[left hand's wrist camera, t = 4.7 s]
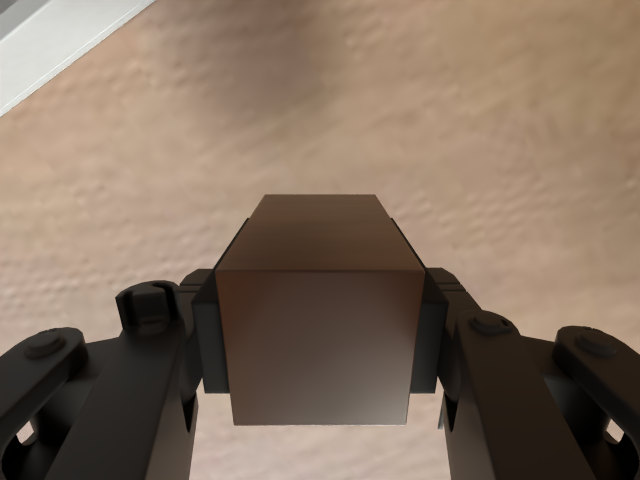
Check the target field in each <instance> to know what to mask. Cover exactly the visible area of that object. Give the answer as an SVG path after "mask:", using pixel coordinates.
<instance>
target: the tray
mask: <svg viewBox="0 0 640 480" xmlns="http://www.w3.org/2000/svg"><path fill="white" fill-rule="evenodd" d="M154 1H155V0H0V117H1V116H2V115H4V114H5V113H6V112H8V111H9V110H10V109H12V108H13V107H14V106H16V105H17V104H18V103H20V102H21V101H22V100H24V99H25V98H26V97H28V96H29V95H30V94H32V93H33V92H34V91H36V90H37V89H38V88H40V87H41V86H42V85H44V84H45V83H46V82H48V81H49V80H50V79H52V78H53V77H54V76H56V75H57V74H58V73H60V72H61V71H62V70H64V69H65V68H66V67H68V66H69V65H70V64H72V63H73V62H74V61H76V60H77V59H78V58H80V57H81V56H82V55H83V54H85V53H86V52H87V51H89V50H90V49H91V48H93V47H94V46H95V45H97V44H98V43H99V42H101V41H102V40H103V39H105V38H106V37H107V36H109V35H110V34H111V33H113V32H114V31H115V30H117V29H118V28H119V27H121V26H122V25H123V24H125V23H126V22H127V21H129V20H130V19H131V18H133V17H134V16H135V15H137V14H138V13H139V12H141V11H142V10H143V9H145V8H146V7H147V6H149V5H150V4H151V3H153V2H154Z"/></svg>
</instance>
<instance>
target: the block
mask: <svg viewBox="0 0 640 480" xmlns="http://www.w3.org/2000/svg"><path fill="white" fill-rule="evenodd" d="M424 275H425V271H424V269H423V267H422V266H421V264H420V263H419V261H418V260H417V258H416V257H415V255H414V254H413V252H412V251H411V249H410V248H409V246H408V244H407V243H406V241H405V240H404V238H403V237H402V235H401V234H400V232H399V231H398V229H397V228H396V226H395V224H394V223H393V221H392V220H391V218H390V217H389V215H388V214H387V212H386V211H385V209H384V208H383V206H382V204H381V203H380V201H379V200H378V198H377V197H376V195H264V197H263V198H262V200H261V201H260V203H259V205H258V206H257V208H256V209H255V211H254V212H253V214H252V215H251V217H250V218H249V220H248V221H247V223H246V224H245V226H244V228H243V229H242V231H241V232H240V234H239V235H238V237H237V238H236V240H235V241H234V243H233V244H232V246H231V247H230V249H229V250H228V252H227V254H226V255H225V257H224V258H223V260H222V261H221V263H220V264H219V266H218V267H217V269H216V271H215V276H216V284H217V292H218V300H219V308H220V316H221V324H222V333H223V341H224V349H225V357H226V365H227V373H228V381H229V389H230V398H231V406H232V414H233V422H234V425H235V426H405V425H406V421H407V412H408V404H409V396H410V388H411V380H412V372H413V364H414V356H415V348H416V340H417V332H418V324H419V316H420V308H421V300H422V292H423V283H424Z"/></svg>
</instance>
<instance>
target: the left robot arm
mask: <svg viewBox="0 0 640 480" xmlns="http://www.w3.org/2000/svg"><path fill="white" fill-rule="evenodd" d="M248 220H249V218H247V219H246V221H245V222H244V224H243V225H242V227H241V228H240V230H239V231H238V233H237V234H236V236H235V237H234V238H233V240H232V241H231V243H230V244H229V246H228V247H227V249H226V250H225V252H224V253H223V255H222V256H221V258H220V259H219V261H218V262H217V264H216V265H215V267H214V268H213V269H197V270H195V271H194V272H192V273H190V274H189V275H187V276H186V277H185V278H184V279H183V281H182V282H181V283H180V286H178V285H177V284H175V283H174V282H170V281H166V280H157V281H149V282H143V283H140V284H137V285H134V286H131V287H129V288H127V289H125V290H123V291H121V292H120V293H119V294H118V295H117V296H116V297H115V299H116V303H117V307H118V311H119V315H120V319H121V323H122V327H123V330H122V332H121V334H120V336H119V337H117V338H112V339H107V340H102V341H97V342H92V343H85V340H84V336H83V333H82V332H81V331H80V330H78V329H76V328H70V327H65V328H54V329H49V330H48V331H47V330H45V331H42V332H39V333H37V334H36V335H33V336H31V337H29V338H27V339H25V340H23V341H22V342H20V343H18V344H17V345H15V346H14V347H13V348H11V349H10V350H9V351H7V352H6V353H5V354H3V355H2V356H1V357H0V480H189V475H190V467H191V459H192V452H193V444H194V436H195V429H196V421H197V413H198V400H197V394H196V390H197V388H198V385H199V383H200V381H201V379H202V378H203V385H204V391H205V393H230V389H229V381H228V373H227V365H226V357H225V349H224V341H223V333H222V324H221V316H220V308H219V300H218V292H217V284H216V276H215V271H216V269H217V267H218V266H219V264H220V263H221V261H222V260H223V258H224V257H225V255H226V254H227V252H228V250H229V249H230V247H231V246H232V244H233V243H234V241H235V240H236V238H237V237H238V235H239V234H240V232H241V231H242V229H243V228H244V226H245V224H246V223H247V221H248ZM391 220H392V221H393V223H394V224H395V226H396V228H397V229H398V231H399V232H400V234H401V235H402V237H403V238H404V240H405V241H406V243H407V244H408V246H409V248H410V249H411V251H412V252H413V254H414V255H415V257H416V258H417V260H418V261H419V263H420V264H421V266H422V267H423V269H424V271H425V275H424V283H423V292H422V300H421V308H420V316H419V324H418V332H417V340H416V348H415V356H414V364H413V372H412V380H411V388H410V393H435V389H436V383H437V377H439V380H440V382H441V384H442V386H443V389H444V394H443V399H442V405H441V411H440V417H439V424H438V429H441V430H442V429H443V424H444V428H445V436H446V443H447V451H448V458H449V466H450V474H451V480H640V355H639V354H638V353H637V352H635V351H634V350H633V349H631V348H630V347H629V346H627V345H626V344H625V343H623V342H621V341H620V340H618V339H616V338H615V337H613V336H611V335H608V334H606V333H604V332H602V331H600V330H598V329H594V328H593V329H591V328H590V327H585V326H583V327H582V326H566V327H562V328H561V329H560V330H558V332H557V335H556V339H555V342H551V341H546V340H541V339H536V338H530V337H526V336H522V335H520V333H519V331H518V329H517V328H516V327H515V325H514V324H513V323H512V322H511V321H509V320H508V319H506V318H504V317H503V316H501V315H498V314H496V313H493V312H490V311H485V310H482V309H481V308H480V307H479V305H478V304H477V303H476V302H475V300H474V299H473V298H472V297H471V295H470V294H469V293H468V292H466V289H465V288H464V287H463V286H462V285H460V282H459V281H458V280H457V278H456V277H455V276H454V275H453V274H451V273H450V272H448V271H446V270H445V269H443V268H426V267H425V265H424V264H423V262H422V261H421V260H420V258H419V257H418V255H417V254H416V252H415V251H414V249H413V248H412V246H411V245H410V243H409V242H408V240H407V239H406V237H405V236H404V234H403V233H402V231H401V230H400V228H399V227H398V226H397V224H396V223H395V221H394V220H393V218H391ZM611 419H612V420H613V421H614V422H615V423H616V424H617V425H618V426H619V427H620V428H621V429H622V430H623V431H624V434H623V437H622V439H621V441H620V442H617V441H616V440H615V439H614V438H613V437H612V436H611V435H610V434H609V433H608V432H607V431H606V430H607V427H608V425H609V422H610V420H611ZM28 421H30V423H31V426H32V428H33V431H34V433H33V434H32V435H31V436H30V437H29V438H28V439H27V440H26V441H24V442H23V443H22V444H21V443H20V442H19V440H18V438H17V435H16V434H17V433H18V432H19V431H20V429H21V428H22V427H23V426H24V425H25V424H26V423H27V422H28Z"/></svg>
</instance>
